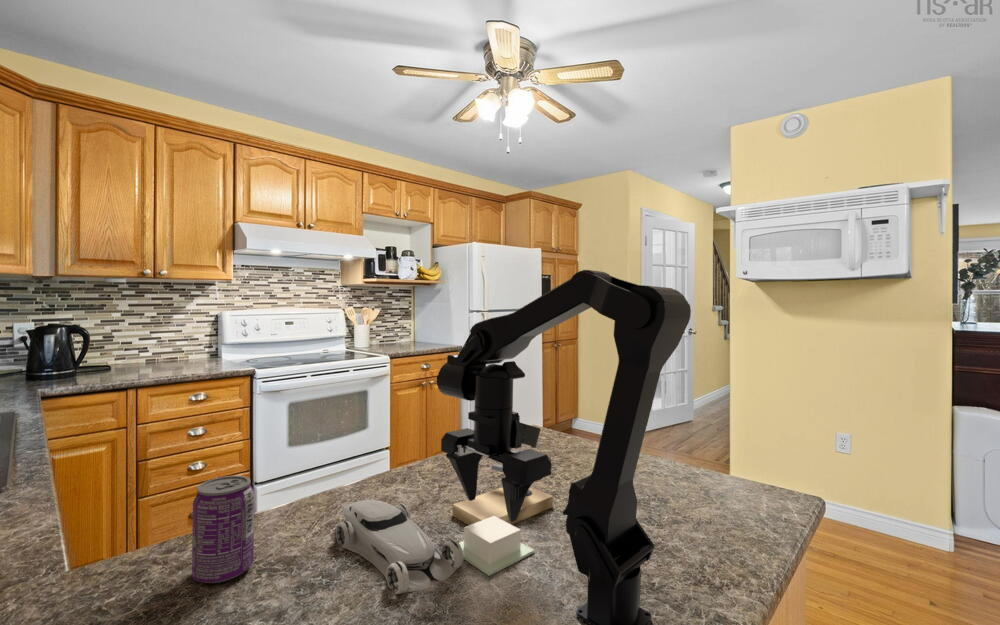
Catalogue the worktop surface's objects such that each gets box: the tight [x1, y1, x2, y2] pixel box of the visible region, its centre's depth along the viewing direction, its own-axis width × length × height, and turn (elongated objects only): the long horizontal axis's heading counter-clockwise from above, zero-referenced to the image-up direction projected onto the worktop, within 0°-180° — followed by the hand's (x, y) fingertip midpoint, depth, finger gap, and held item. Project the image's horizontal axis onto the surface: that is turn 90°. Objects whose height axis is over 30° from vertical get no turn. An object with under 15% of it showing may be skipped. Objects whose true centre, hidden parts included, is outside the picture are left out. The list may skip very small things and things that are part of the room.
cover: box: [463, 516, 522, 564], centre depth 69 cm, size 6×6×3 cm
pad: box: [450, 540, 535, 577], centre depth 69 cm, size 9×9×1 cm
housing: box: [452, 486, 554, 526], centre depth 82 cm, size 16×9×2 cm, turn 133°
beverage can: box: [191, 475, 255, 584], centre depth 62 cm, size 7×7×12 cm
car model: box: [335, 499, 464, 595], centre depth 69 cm, size 11×24×5 cm, turn 42°
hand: (491, 509), depth 69 cm, fingers open, 9 cm apart
